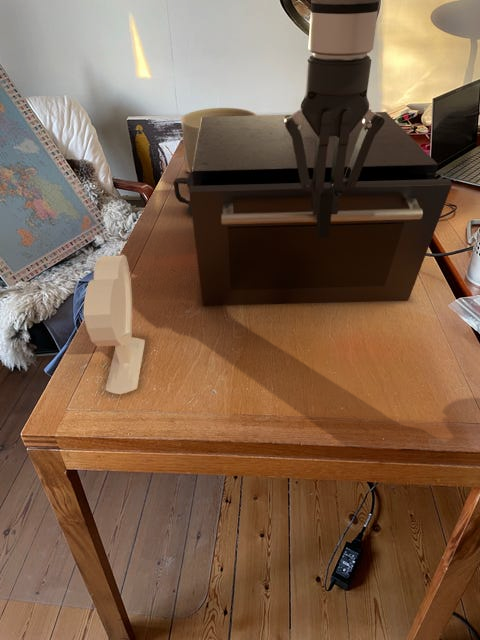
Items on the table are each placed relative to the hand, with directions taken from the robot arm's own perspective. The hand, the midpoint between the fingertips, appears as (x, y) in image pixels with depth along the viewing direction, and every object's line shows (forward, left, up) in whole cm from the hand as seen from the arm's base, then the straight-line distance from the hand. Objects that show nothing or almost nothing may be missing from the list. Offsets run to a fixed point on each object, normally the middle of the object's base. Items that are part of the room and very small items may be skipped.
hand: (322, 233), depth 69 cm
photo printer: (+84, +25, -20) cm, 90 cm away
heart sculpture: (-6, +32, -20) cm, 38 cm away
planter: (+69, +17, -20) cm, 74 cm away
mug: (+52, +23, -20) cm, 61 cm away
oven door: (+8, 0, -20) cm, 22 cm away
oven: (+27, 0, -20) cm, 34 cm away
